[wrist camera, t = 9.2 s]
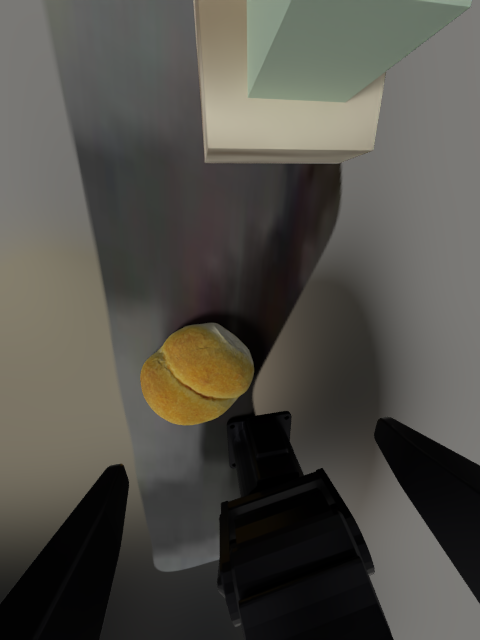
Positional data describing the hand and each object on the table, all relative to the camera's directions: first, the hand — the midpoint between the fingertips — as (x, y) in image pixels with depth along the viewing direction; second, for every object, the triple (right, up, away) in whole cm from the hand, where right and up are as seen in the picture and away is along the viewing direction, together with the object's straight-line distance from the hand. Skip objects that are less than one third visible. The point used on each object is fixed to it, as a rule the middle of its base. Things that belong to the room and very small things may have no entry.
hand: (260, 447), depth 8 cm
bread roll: (-4, +1, +13) cm, 13 cm away
